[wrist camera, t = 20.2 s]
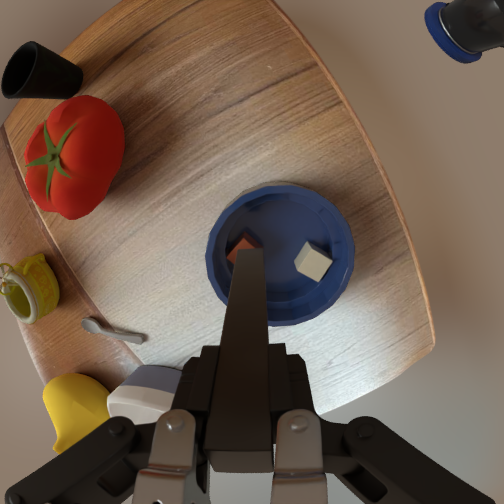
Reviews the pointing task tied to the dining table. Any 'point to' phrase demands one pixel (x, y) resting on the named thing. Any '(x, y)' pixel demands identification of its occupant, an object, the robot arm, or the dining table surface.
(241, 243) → the block
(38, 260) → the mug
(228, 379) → the stick
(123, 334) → the spoon
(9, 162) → the dining table surface
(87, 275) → the dining table surface
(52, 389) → the vase
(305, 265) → the block
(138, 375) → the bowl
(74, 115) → the tomato
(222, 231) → the bowl
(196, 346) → the dining table surface
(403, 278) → the dining table surface
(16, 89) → the cup
